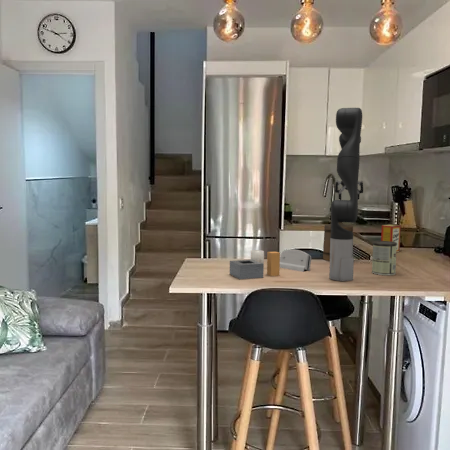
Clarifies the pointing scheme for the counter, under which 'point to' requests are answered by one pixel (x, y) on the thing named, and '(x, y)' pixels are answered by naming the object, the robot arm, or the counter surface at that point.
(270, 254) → the square bit
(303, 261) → the grey curved-top upright plate
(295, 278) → the counter surface
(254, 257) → the round bit
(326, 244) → the wooden container
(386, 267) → the coffee can
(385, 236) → the baking soda box
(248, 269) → the block
